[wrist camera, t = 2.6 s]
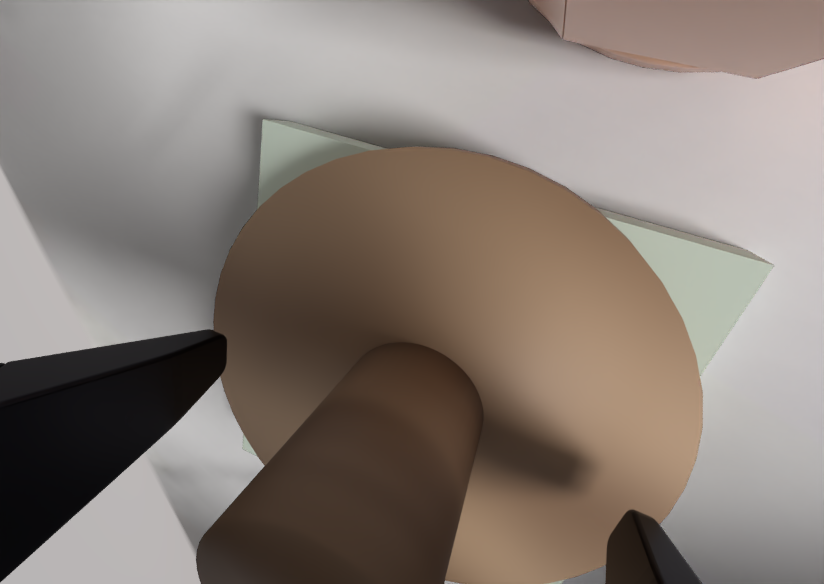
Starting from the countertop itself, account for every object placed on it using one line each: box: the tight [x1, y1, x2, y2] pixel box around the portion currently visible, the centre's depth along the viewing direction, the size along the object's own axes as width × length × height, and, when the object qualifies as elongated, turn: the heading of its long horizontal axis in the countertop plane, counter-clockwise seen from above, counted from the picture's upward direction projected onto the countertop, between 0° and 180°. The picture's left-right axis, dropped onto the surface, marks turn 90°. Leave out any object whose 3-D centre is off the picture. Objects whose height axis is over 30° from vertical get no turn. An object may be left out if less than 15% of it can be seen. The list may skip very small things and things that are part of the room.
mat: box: [243, 119, 774, 584], centre depth 10 cm, size 10×10×1 cm
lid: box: [196, 146, 703, 584], centre depth 7 cm, size 11×11×5 cm
